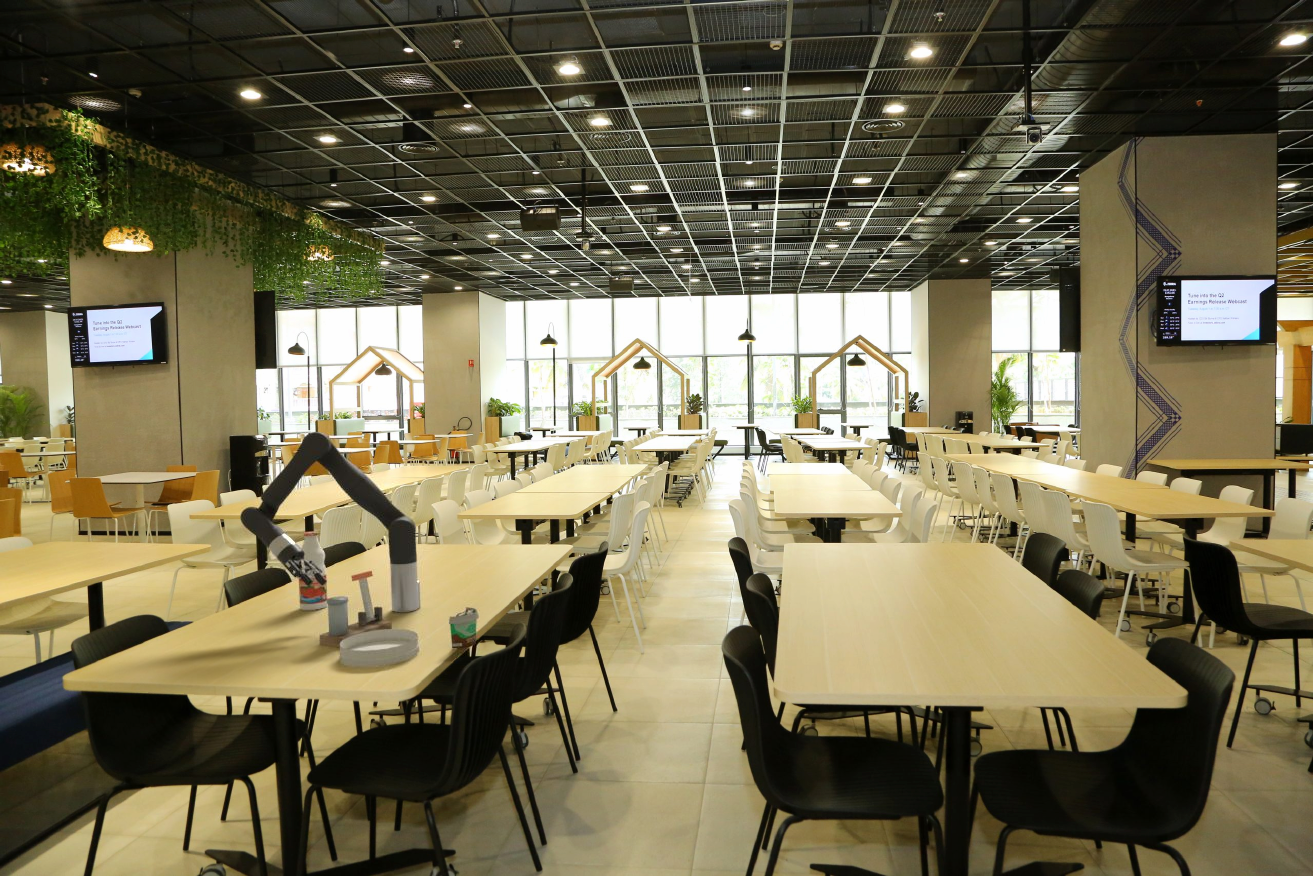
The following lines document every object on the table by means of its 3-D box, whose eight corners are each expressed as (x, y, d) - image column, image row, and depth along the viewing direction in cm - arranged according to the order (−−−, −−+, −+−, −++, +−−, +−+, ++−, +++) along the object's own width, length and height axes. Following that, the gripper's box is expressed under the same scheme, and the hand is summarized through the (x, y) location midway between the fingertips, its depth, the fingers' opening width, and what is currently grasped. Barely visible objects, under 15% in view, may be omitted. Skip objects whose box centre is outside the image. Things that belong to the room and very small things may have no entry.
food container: (469, 651, 235) (468, 617, 235) (449, 650, 237) (448, 617, 236) (486, 639, 247) (485, 607, 247) (467, 638, 249) (466, 606, 248)
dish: (373, 673, 219) (372, 655, 218) (323, 661, 230) (322, 644, 230) (435, 651, 237) (434, 634, 237) (385, 641, 249) (385, 625, 249)
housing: (369, 627, 264) (368, 605, 264) (391, 630, 260) (390, 608, 259) (319, 644, 246) (318, 620, 246) (343, 648, 242) (342, 624, 241)
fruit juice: (327, 603, 300) (324, 529, 299) (327, 609, 291) (324, 533, 290) (300, 606, 296) (297, 531, 295) (299, 612, 288) (296, 535, 286)
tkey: (377, 620, 262) (367, 571, 262) (381, 619, 261) (371, 570, 262) (360, 625, 255) (350, 575, 256) (365, 625, 254) (355, 574, 255)
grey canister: (339, 630, 251) (338, 595, 250) (353, 632, 248) (352, 597, 247) (323, 635, 245) (322, 600, 245) (338, 637, 242) (336, 602, 242)
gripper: (281, 541, 261) (313, 575, 258) (306, 543, 275) (336, 575, 272) (266, 559, 261) (298, 592, 258) (291, 559, 275) (321, 591, 272)
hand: (317, 583), depth 265 cm, fingers open, 8 cm apart
